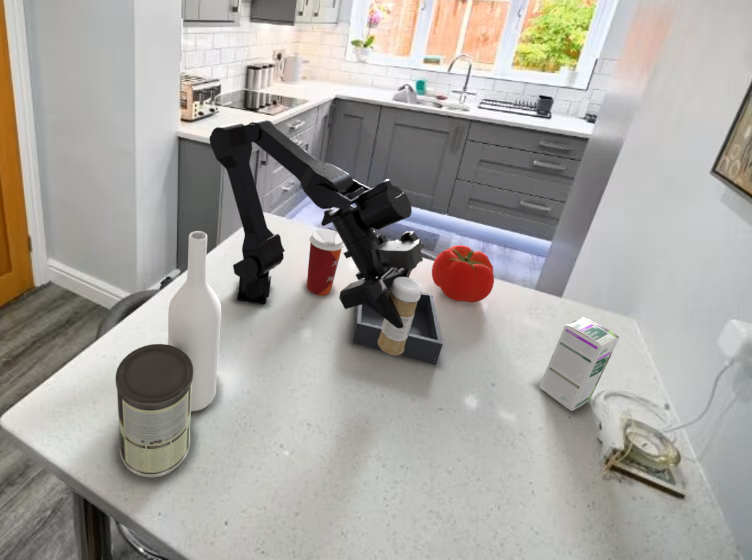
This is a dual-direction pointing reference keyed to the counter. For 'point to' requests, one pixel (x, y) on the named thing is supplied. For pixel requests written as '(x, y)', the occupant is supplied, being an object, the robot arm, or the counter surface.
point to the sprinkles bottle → (405, 303)
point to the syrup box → (578, 362)
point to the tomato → (463, 274)
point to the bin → (421, 336)
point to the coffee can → (154, 409)
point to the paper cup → (323, 260)
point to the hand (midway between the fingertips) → (406, 321)
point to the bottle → (197, 323)
